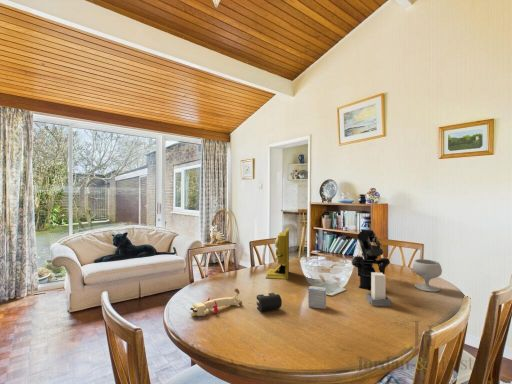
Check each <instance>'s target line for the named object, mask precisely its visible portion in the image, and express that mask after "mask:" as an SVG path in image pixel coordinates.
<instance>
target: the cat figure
mask: <svg viewBox="0 0 512 384" xmlns="http://www.w3.org/2000/svg"><path fill="white" fill-rule="evenodd" d="M234 292H235V294H234V295H233V296H231V297H220V298H219V297H218V298H214V299H211V298H212V297H211V296H210V297H208V298H207V300H205V301H204V302H203V303H202V302H201V301H200V302H195V303H193V305H192V306H191V307H190V309H189V310H190V312H189V314H190V316H192V317H196V316H197V317H204V316H206V315H207V313H208V312H209V310H210V309H211V310H212V309H213V312H214V313H213V314H214V315H215V314H217V313H218V311H219V309H218V307H224V306H238V305H239V306H242V305H243V299H241V298H238V296H239V295H240V292H241V291H240V290H239V288H237V287H235V288H234ZM210 299H211V300H210ZM191 311H192V312H191Z"/></svg>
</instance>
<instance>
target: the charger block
mask: <svg viewBox="0 0 512 384" xmlns="http://www.w3.org/2000/svg"><path fill="white" fill-rule="evenodd" d="M386 280H387V279H386V274H385V275H384V274H383V273H380V272H377V271H375V272H371V290H370V293H371V297H372V298H373V299H385V295H386V285H387V284H386Z"/></svg>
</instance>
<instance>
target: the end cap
mask: <svg viewBox="0 0 512 384" xmlns="http://www.w3.org/2000/svg"><path fill="white" fill-rule="evenodd" d="M256 300H257V301H256V309H257V311H259V312H260V313H263V312H267V311H274V310H279V309H280V308H282V304H283V302H282V297H281V295H280V294H278V293H277V294H276V293H274V292H269V293H268V295H264V294H257V295H256Z"/></svg>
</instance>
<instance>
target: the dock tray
mask: <svg viewBox="0 0 512 384" xmlns="http://www.w3.org/2000/svg"><path fill="white" fill-rule="evenodd" d="M365 299H366V301H368V303H369V304H370V306H372V307H389V308H390V307H392V300H391V298H389V296H388V295H386V294H385V299H373V298H372V297H371V292H366V293H365Z"/></svg>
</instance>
